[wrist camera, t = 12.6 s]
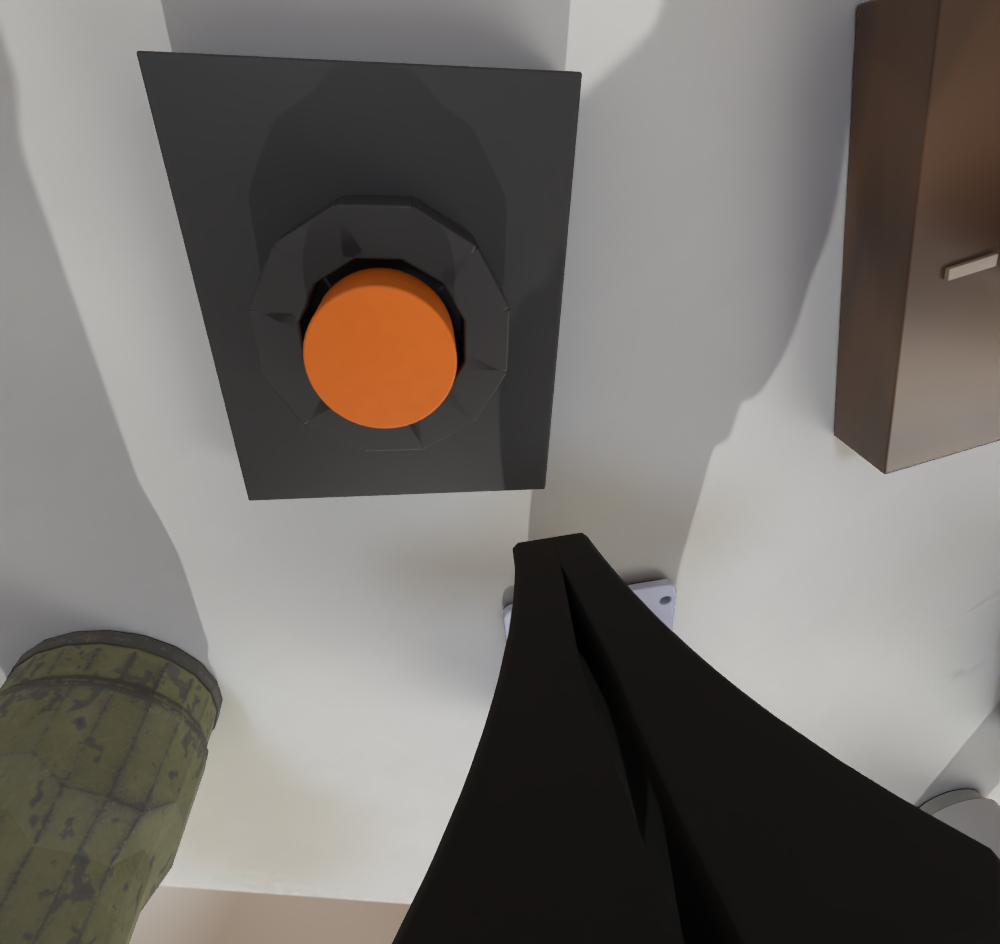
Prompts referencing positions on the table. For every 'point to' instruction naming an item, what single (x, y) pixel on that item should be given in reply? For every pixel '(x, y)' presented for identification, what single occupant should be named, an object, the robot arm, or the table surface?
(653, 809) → the robot arm
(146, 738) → the thermos
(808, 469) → the table surface
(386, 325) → the button
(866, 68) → the dial panel
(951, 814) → the energy drink can
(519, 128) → the button base
